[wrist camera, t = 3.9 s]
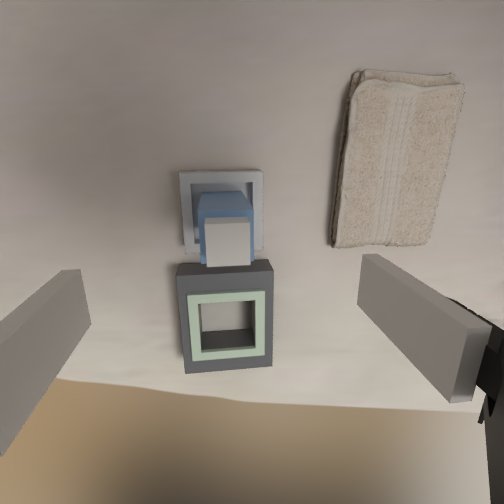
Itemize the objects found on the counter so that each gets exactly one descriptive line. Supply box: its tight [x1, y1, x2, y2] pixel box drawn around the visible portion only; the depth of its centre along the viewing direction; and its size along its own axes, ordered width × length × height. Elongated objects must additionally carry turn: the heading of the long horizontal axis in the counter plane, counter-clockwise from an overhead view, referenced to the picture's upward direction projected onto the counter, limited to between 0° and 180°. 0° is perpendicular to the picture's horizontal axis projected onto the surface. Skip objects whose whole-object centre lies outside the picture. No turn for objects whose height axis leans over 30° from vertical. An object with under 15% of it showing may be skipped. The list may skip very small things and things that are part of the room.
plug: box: [198, 191, 254, 267], centre depth 27 cm, size 4×4×12 cm
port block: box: [176, 259, 274, 374], centre depth 35 cm, size 12×10×4 cm
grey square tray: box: [179, 170, 263, 254], centre depth 32 cm, size 8×8×2 cm
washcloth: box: [329, 69, 465, 248], centre depth 33 cm, size 12×18×3 cm, turn 179°
